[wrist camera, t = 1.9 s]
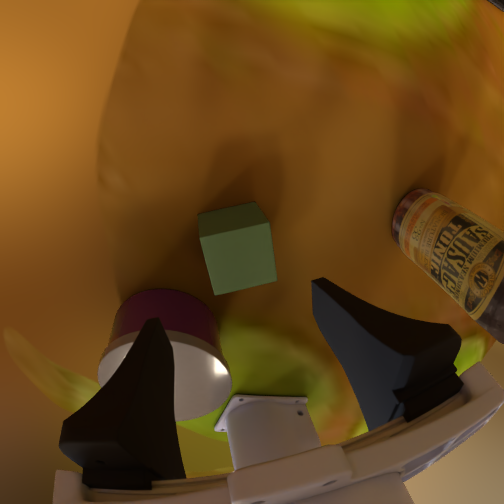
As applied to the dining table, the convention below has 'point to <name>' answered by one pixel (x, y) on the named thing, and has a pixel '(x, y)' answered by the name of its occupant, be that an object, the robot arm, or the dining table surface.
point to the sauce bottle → (455, 253)
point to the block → (237, 247)
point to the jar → (175, 348)
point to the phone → (498, 4)
